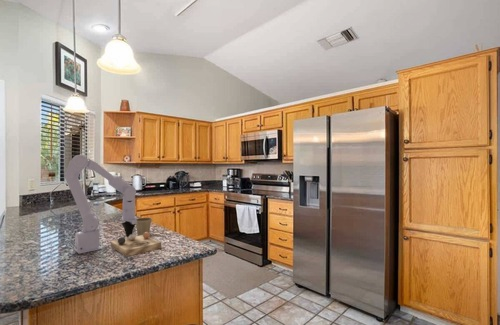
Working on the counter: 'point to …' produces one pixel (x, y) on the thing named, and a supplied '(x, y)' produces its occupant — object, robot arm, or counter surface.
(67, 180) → the robot arm
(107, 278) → the counter surface
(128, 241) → the board
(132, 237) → the steel ball
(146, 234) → the terracotta ball
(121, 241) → the black rubber ball
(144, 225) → the flower pot
